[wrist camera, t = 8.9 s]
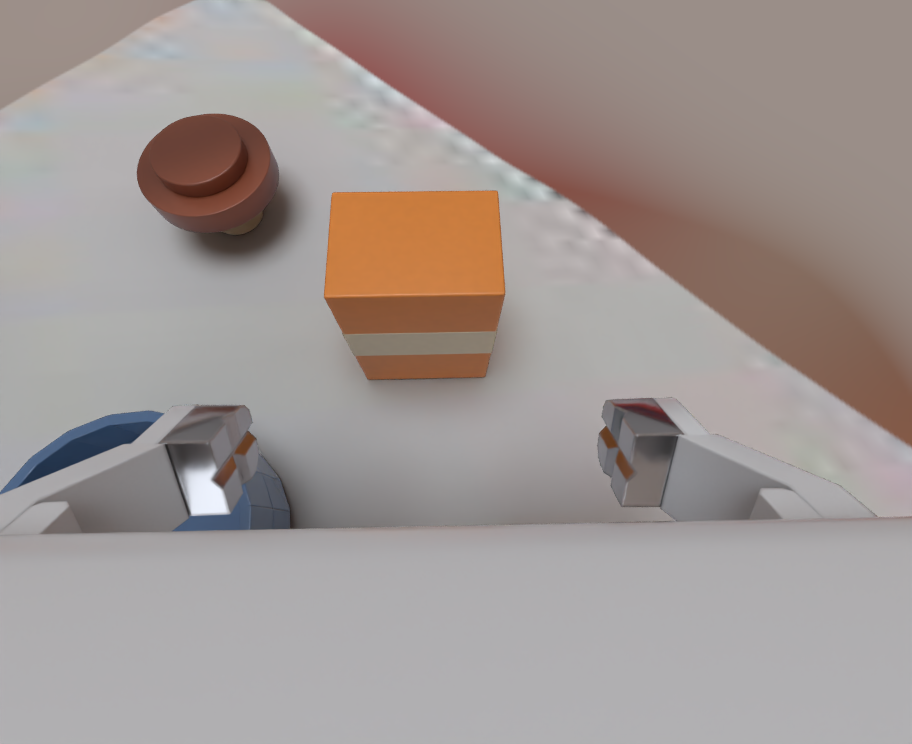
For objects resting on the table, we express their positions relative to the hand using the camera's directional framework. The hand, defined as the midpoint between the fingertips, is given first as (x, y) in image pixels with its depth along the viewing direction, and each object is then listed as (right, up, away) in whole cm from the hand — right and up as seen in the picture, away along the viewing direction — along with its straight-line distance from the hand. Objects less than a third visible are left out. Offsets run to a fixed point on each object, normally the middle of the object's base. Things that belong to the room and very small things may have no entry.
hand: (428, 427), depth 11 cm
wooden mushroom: (-11, +10, +14) cm, 20 cm away
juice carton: (-1, +3, +12) cm, 12 cm away
